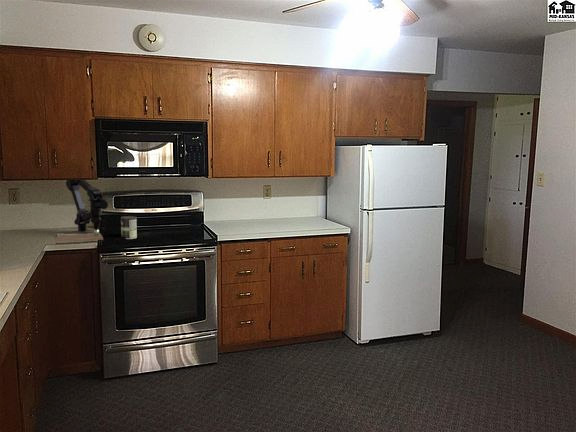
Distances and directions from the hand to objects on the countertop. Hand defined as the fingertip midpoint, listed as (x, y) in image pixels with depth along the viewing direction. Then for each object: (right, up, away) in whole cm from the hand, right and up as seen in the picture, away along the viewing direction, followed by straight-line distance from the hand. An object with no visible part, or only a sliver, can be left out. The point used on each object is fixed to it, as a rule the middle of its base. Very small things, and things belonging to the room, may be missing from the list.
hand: (95, 230), depth 341 cm
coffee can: (+24, -5, -4) cm, 25 cm away
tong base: (-10, -3, -11) cm, 15 cm away
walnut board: (-5, -6, -16) cm, 17 cm away
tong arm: (-5, -3, -10) cm, 11 cm away
